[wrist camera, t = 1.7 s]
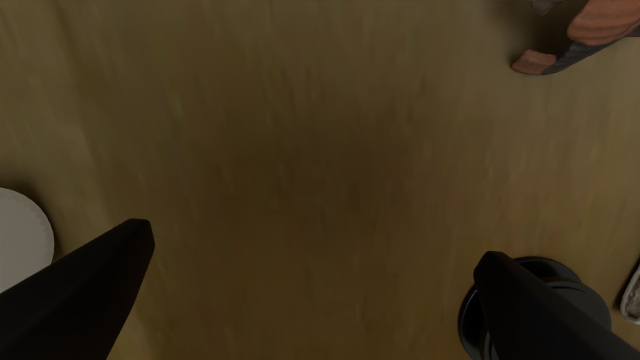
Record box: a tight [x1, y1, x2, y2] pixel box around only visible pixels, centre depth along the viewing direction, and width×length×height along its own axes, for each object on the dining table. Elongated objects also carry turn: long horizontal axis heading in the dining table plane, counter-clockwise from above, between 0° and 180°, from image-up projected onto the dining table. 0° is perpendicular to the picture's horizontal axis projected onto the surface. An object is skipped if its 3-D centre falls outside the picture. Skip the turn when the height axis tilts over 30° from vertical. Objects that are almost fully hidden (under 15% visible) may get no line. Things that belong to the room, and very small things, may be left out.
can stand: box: [458, 257, 611, 360], centre depth 26 cm, size 12×12×3 cm
